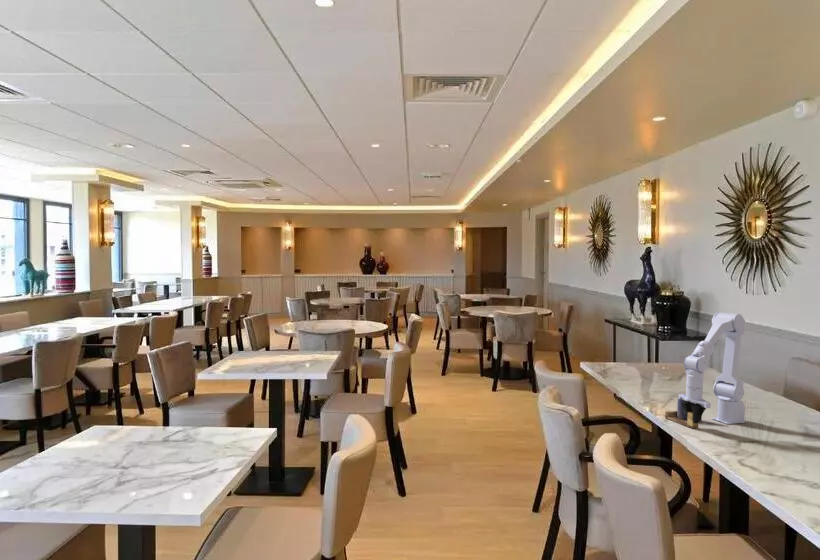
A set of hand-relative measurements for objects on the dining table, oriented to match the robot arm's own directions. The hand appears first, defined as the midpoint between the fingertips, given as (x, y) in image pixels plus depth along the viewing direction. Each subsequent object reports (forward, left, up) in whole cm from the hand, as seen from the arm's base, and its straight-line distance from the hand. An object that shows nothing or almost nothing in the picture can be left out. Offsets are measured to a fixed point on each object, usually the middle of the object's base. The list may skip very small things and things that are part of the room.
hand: (693, 421), depth 217 cm
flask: (-7, -10, -3) cm, 12 cm away
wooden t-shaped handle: (-5, -6, -2) cm, 8 cm away
